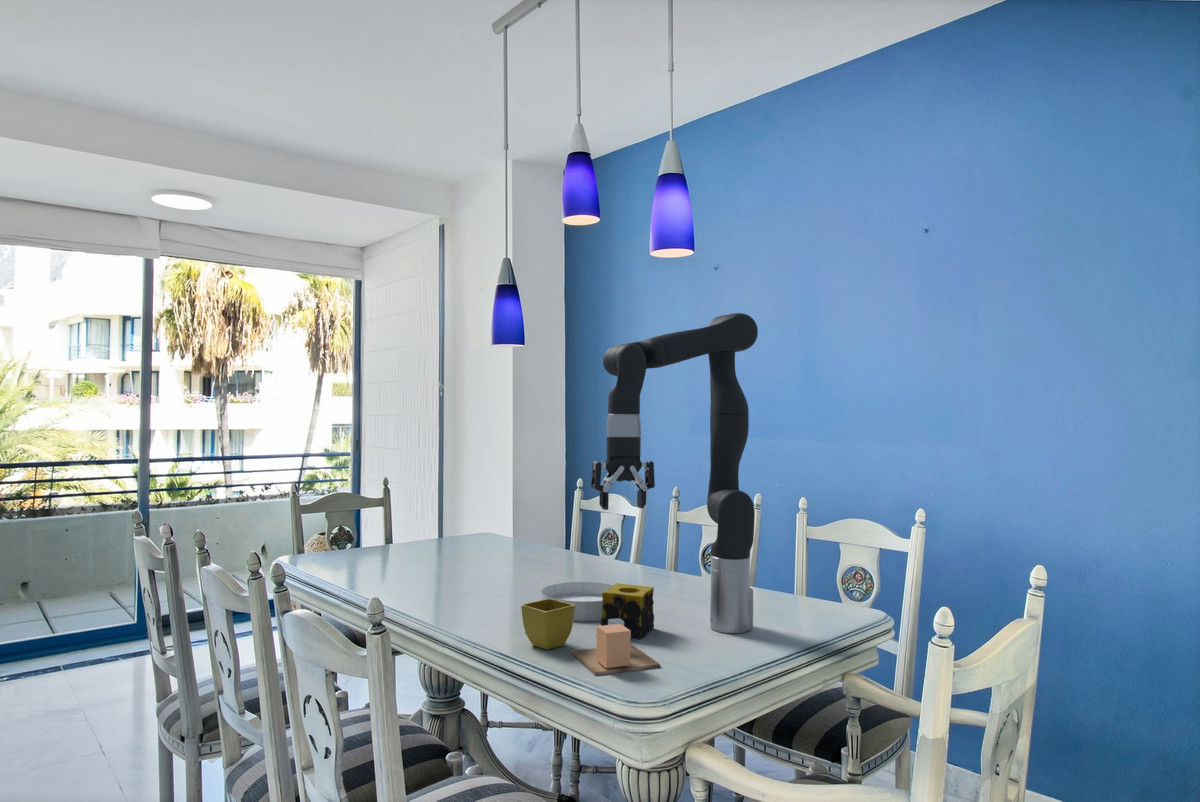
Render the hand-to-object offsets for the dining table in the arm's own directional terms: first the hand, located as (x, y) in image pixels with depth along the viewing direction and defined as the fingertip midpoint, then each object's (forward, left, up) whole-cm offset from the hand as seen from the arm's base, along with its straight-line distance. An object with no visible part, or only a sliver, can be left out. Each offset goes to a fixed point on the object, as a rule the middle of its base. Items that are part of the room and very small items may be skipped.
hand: (622, 508), depth 164 cm
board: (+5, +8, -30) cm, 32 cm away
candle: (-6, -10, -30) cm, 33 cm away
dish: (-3, -32, -31) cm, 44 cm away
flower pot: (+15, -6, -30) cm, 34 cm away
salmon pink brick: (+7, +12, -29) cm, 32 cm away
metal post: (+3, +4, -30) cm, 30 cm away
